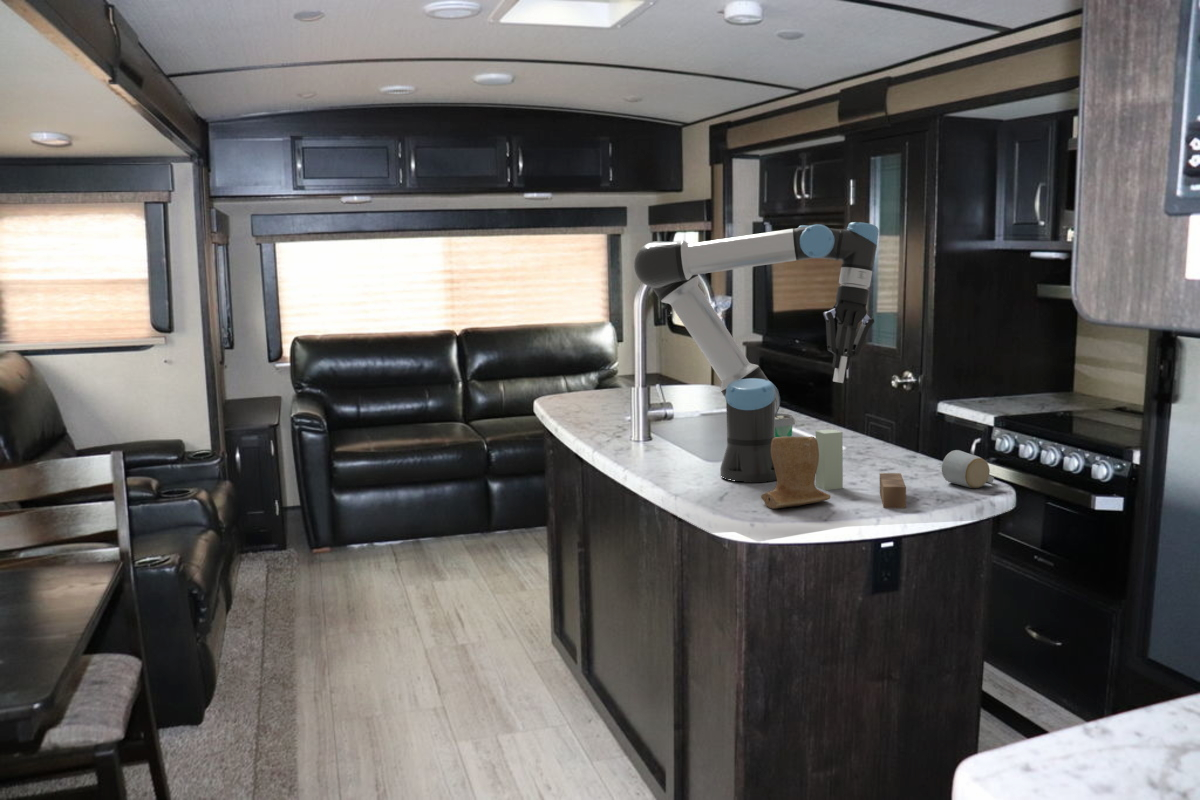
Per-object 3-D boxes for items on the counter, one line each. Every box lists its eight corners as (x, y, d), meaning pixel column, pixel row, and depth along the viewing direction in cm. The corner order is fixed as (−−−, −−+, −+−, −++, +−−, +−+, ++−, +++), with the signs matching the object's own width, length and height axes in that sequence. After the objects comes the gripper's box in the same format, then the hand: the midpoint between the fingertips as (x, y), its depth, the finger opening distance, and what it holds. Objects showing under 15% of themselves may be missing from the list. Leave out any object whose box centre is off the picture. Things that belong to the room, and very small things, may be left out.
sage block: (824, 490, 222) (824, 433, 221) (815, 485, 227) (815, 430, 225) (842, 488, 223) (842, 432, 222) (833, 484, 228) (833, 429, 226)
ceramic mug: (966, 491, 216) (967, 456, 215) (940, 484, 224) (941, 451, 223) (1003, 486, 220) (1004, 452, 220) (975, 479, 228) (976, 447, 227)
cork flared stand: (804, 494, 219) (803, 428, 217) (838, 504, 208) (837, 435, 206) (747, 503, 213) (746, 435, 211) (778, 514, 202) (777, 442, 200)
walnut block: (879, 492, 218) (883, 507, 204) (879, 472, 217) (883, 486, 204) (900, 493, 217) (905, 508, 203) (900, 473, 216) (905, 487, 203)
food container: (795, 456, 263) (794, 419, 262) (771, 456, 264) (771, 419, 263) (795, 447, 275) (795, 412, 274) (773, 447, 276) (772, 412, 275)
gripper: (836, 282, 234) (820, 380, 236) (885, 290, 237) (869, 386, 239) (822, 283, 242) (807, 377, 243) (870, 291, 244) (854, 384, 246)
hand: (837, 382), depth 241 cm, fingers closed
